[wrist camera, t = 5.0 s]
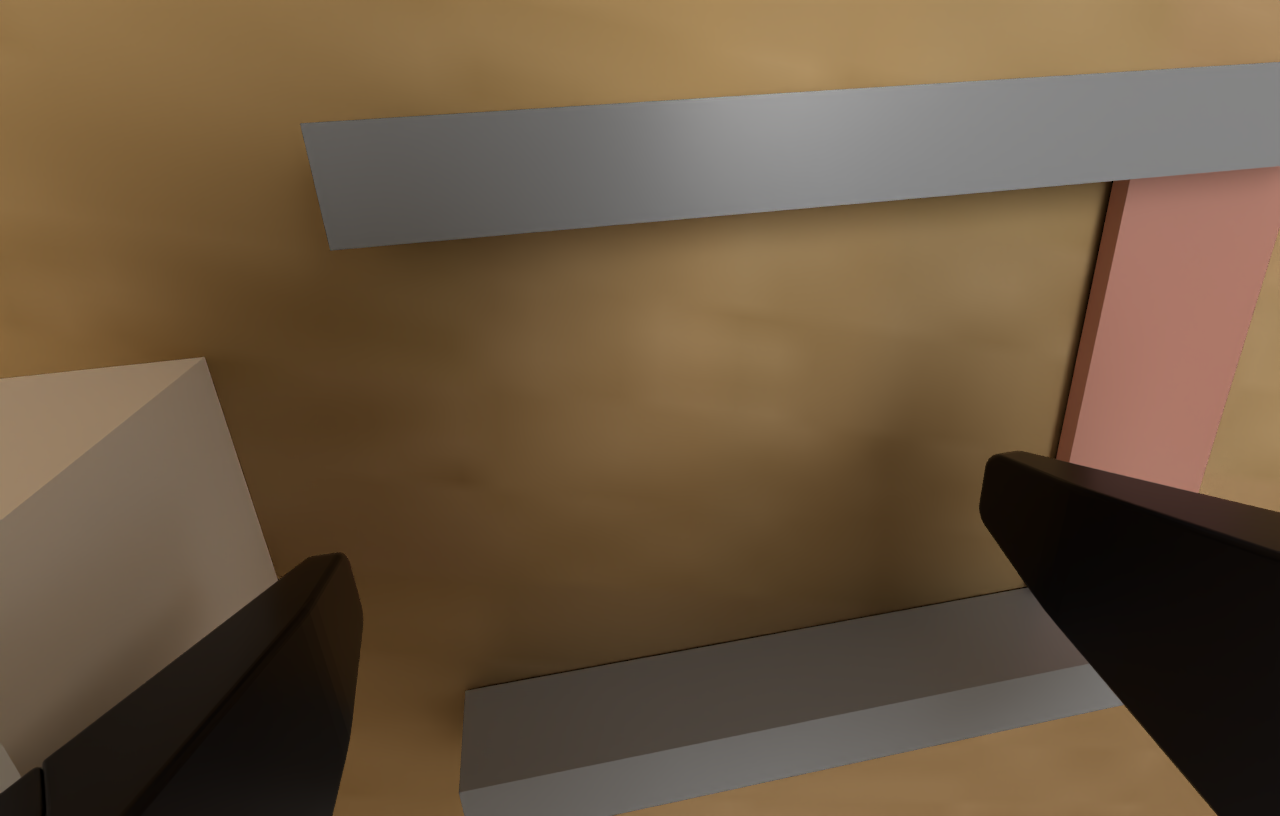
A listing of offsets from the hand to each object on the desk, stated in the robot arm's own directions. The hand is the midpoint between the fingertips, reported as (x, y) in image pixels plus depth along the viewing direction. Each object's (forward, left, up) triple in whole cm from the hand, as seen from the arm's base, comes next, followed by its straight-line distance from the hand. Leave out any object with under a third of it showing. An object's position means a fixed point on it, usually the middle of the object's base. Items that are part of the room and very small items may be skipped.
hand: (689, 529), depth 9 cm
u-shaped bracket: (-3, 0, -2) cm, 4 cm away
